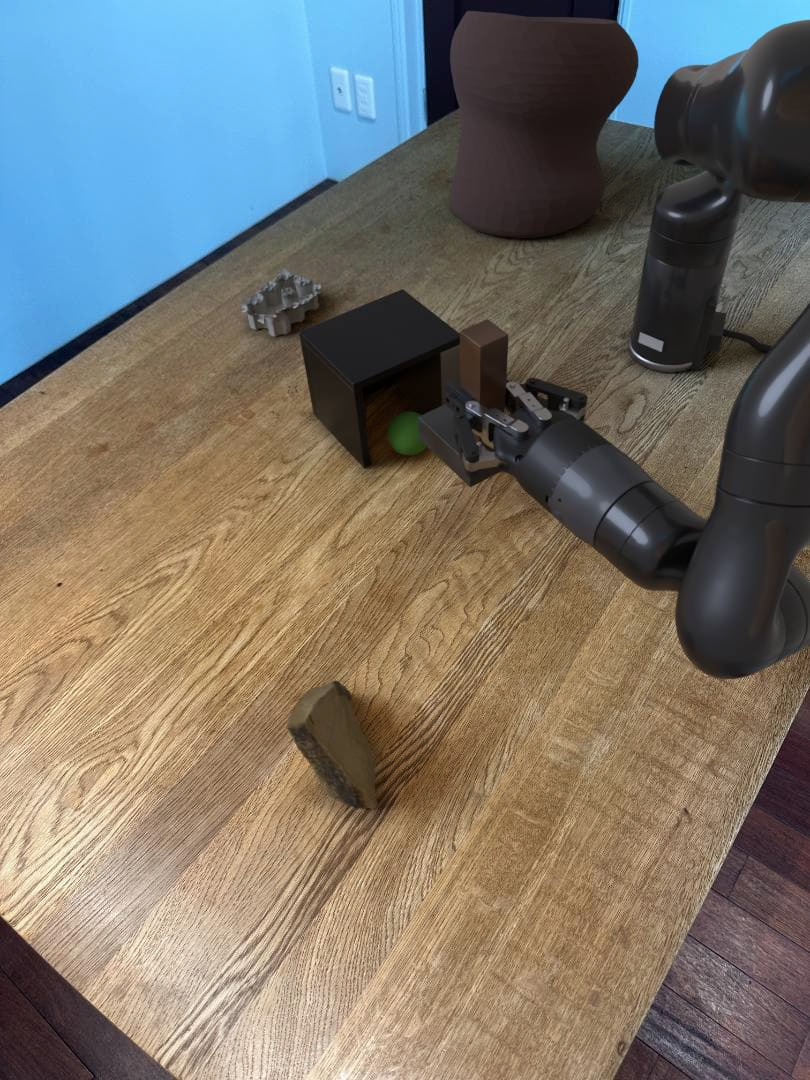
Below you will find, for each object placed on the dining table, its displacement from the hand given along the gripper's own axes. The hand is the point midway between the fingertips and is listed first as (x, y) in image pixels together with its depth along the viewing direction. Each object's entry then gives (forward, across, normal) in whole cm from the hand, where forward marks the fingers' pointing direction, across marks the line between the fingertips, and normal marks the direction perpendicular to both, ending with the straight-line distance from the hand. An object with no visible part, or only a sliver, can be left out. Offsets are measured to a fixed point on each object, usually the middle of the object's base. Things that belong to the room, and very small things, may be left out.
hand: (464, 382), depth 76 cm
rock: (-18, +25, +17) cm, 35 cm away
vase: (+48, -49, +16) cm, 71 cm away
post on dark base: (0, 0, +9) cm, 9 cm away
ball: (+11, 0, +14) cm, 17 cm away
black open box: (+17, -1, +16) cm, 24 cm away
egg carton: (+45, -1, +16) cm, 48 cm away
